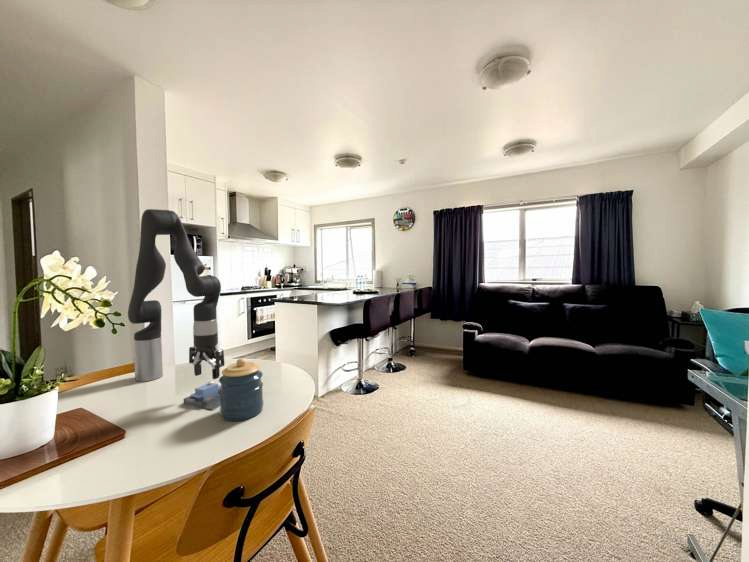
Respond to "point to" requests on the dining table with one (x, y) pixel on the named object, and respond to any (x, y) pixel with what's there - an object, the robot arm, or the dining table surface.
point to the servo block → (206, 391)
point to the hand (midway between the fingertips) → (206, 376)
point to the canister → (241, 391)
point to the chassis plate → (204, 402)
